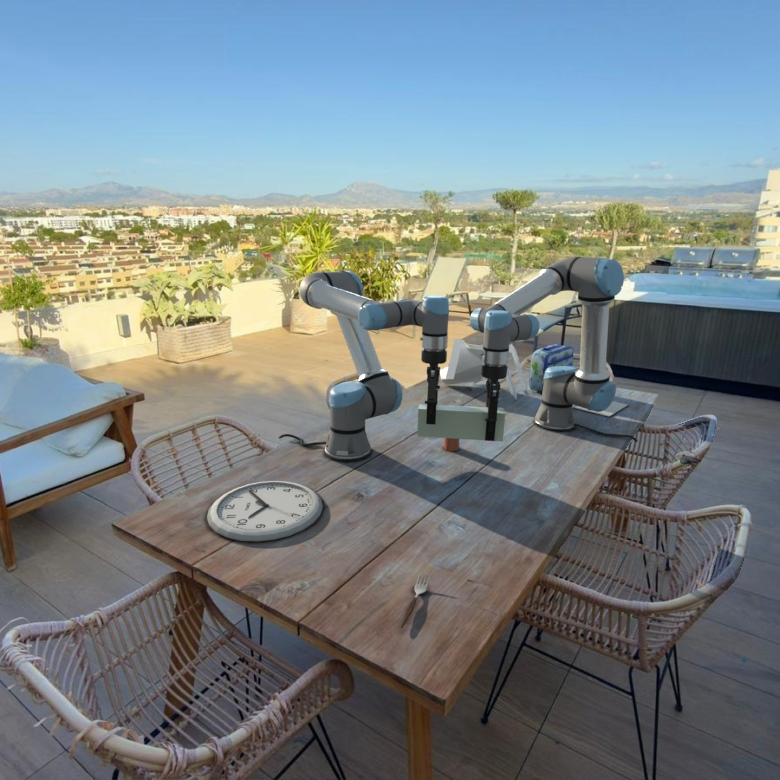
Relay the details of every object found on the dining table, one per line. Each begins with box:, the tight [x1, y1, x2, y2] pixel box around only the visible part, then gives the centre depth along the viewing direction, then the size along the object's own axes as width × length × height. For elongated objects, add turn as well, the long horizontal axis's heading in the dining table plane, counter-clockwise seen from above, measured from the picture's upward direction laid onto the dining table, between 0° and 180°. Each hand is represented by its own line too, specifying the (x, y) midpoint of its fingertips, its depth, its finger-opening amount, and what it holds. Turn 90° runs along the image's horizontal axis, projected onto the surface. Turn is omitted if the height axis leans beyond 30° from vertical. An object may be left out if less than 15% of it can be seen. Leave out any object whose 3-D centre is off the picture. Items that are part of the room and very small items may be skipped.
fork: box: [400, 570, 431, 629], centre depth 106 cm, size 3×16×2 cm, turn 160°
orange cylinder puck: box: [443, 438, 460, 452], centre depth 180 cm, size 5×5×6 cm
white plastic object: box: [439, 338, 531, 400], centre depth 245 cm, size 37×45×31 cm
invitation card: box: [573, 400, 629, 418], centre depth 226 cm, size 21×1×15 cm
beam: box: [417, 403, 506, 442], centre depth 161 cm, size 26×5×9 cm, turn 83°
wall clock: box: [206, 480, 324, 543], centre depth 140 cm, size 30×2×30 cm
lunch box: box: [528, 344, 574, 393], centre depth 247 cm, size 26×11×21 cm, turn 134°
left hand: (431, 416), depth 161 cm, fingers open, 13 cm apart
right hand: (489, 436), depth 161 cm, fingers closed on beam, 5 cm apart
